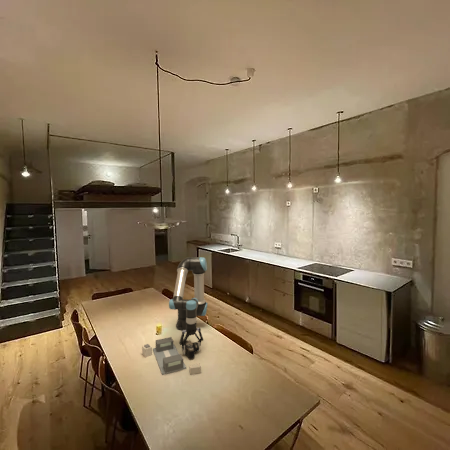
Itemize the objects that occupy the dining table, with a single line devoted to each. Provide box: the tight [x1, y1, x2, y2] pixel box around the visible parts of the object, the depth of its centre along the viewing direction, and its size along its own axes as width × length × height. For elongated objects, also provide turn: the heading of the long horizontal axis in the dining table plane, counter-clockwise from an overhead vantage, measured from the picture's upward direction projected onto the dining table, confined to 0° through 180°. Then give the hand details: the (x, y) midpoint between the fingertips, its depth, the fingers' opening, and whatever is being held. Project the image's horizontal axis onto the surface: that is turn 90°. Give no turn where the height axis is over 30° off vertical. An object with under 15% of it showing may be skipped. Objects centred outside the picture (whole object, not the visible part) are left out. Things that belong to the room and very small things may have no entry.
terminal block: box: [188, 363, 202, 376], centre depth 172 cm, size 7×4×4 cm, turn 107°
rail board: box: [152, 336, 187, 376], centre depth 187 cm, size 16×34×7 cm, turn 25°
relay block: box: [141, 343, 153, 358], centre depth 193 cm, size 5×6×7 cm
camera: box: [183, 338, 199, 360], centre depth 194 cm, size 16×10×10 cm, turn 31°
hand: (191, 351), depth 194 cm, fingers closed on camera, 10 cm apart
